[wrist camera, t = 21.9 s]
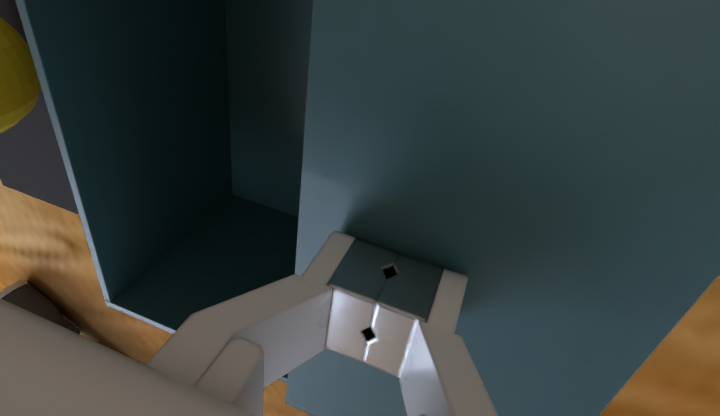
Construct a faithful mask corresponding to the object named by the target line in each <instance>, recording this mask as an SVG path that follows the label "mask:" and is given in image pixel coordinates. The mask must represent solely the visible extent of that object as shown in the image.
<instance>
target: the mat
mask: <svg viewBox="0 0 720 416" xmlns="http://www.w3.org/2000/svg"><path fill="white" fill-rule="evenodd" d="M0 17H1V18H3V19H4V20H5V21H6V22H7V23H9V24H10V25H11V26H12V27H13V28H14V29H15V30H16V31H17V32H18V33H19V34H20V35H21V37H22V38H23V39H24V41H25V42H26V43H27V44H28V41H27V38H26V35H25V31H24V28H23V25H22V21H21V18H20V14H19V11H18V8H17V4H16V1H15V0H0ZM0 179H1V181H2V183H3V185H4V186H7V187H9V188H12V189H15V190H17V191H20V192H22V193H25V194H27V195H30V196H33V197H35V198H38V199H40V200H43V201H46V202H48V203H51V204H53V205H56V206H58V207H61V208H64V209H66V210H69V211H71V212H74V213H76V214H79V212H78V209H77V206H76V202H75V199H74V196H73V192H72V189H71V186H70V182H69V179H68V176H67V172H66V169H65V165H64V162H63V159H62V155H61V152H60V149H59V145H58V142H57V139H56V135H55V132H54V129H53V125H52V122H51V118H50V115H49V112H48V108H47V105H46V102H45V98H44V95H43V92H42V88H40V92H39V96H38V99H37V102H36V105H35V106H34V107H33V109H32V110H31V111H30V112H29V113H28V114H27V115H26V116H24V117H23V118H22V119H21V120H20V121H19V122H18V123H16V124H15V125H14V126H13V127H11V128H9V129H7V130H6V131H4V132H2V133H0Z"/></svg>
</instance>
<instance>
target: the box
mask: <svg viewBox="0 0 720 416" xmlns="http://www.w3.org/2000/svg"><path fill="white" fill-rule="evenodd" d="M15 1H16V4H17V8H18V11H19V14H20V18H21V21H22V25H23V28H24V31H25V35H26V38H27V41H28V45H29V48H30V51H31V55H32V58H33V61H34V65H35V68H36V72H37V75H38V78H39V82H40V85H41V88H42V92H43V95H44V98H45V102H46V105H47V108H48V112H49V115H50V118H51V122H52V125H53V129H54V132H55V135H56V139H57V142H58V145H59V149H60V152H61V155H62V159H63V162H64V165H65V169H66V172H67V176H68V179H69V182H70V186H71V189H72V192H73V196H74V199H75V202H76V206H77V209H78V212H79V216H80V219H81V223H82V226H83V229H84V233H85V236H86V239H87V243H88V246H89V249H90V253H91V256H92V259H93V263H94V266H95V269H96V273H97V276H98V280H99V283H100V286H101V290H102V293H103V296H104V299H105V303H106V305H108V306H110V307H112V308H114V309H117V310H119V311H121V312H124V313H126V314H128V315H131V316H133V317H135V318H138V319H140V320H142V321H145V322H147V323H149V324H151V325H154V326H156V327H158V328H161V329H163V330H165V331H168V332H170V333H172V334H174V333H175V332H176V330H177V329H178V328H179V327H180V326H181V325H182V324H183V323H184V322H185V321H186V319H187V318H188V317H189V316H190V315H191V314H193V313H196V312H198V311H201V310H203V309H206V308H208V307H211V306H214V305H216V304H219V303H221V302H224V301H226V300H229V299H232V298H234V297H237V296H239V295H242V294H244V293H247V292H250V291H252V290H255V289H257V288H260V287H262V286H265V285H268V284H270V283H273V282H275V281H278V280H281V279H283V278H286V277H288V276H291V275H293V274H295V261H296V246H297V232H298V217H299V202H300V188H301V173H302V158H303V144H304V129H305V115H306V100H307V85H308V71H309V56H310V41H311V27H312V12H313V0H15ZM287 378H288V373H287V374H286V375H284V376H282V377H281V378H279V380H281V381H283V382H286V383H287Z"/></svg>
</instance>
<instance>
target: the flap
mask: <svg viewBox="0 0 720 416" xmlns="http://www.w3.org/2000/svg"><path fill="white" fill-rule="evenodd" d="M334 231H339V232H342V233H344V234H347V235H350V236H352V237H355V238H359V239H362V240H364V241H367V242H370V243H372V244H375V245H378V246H380V247H383V248H386V249H388V250H391V251H394V252H396V253H399V254H402V255H405V256H408V257H411V258H414V259H417V260H420V261H423V262H426V263H428V264H431V265H434V266H437V267H440V268H443V270H444V268H445V269H448V270H451V271H454V272H457V273H460V274H463V275H466V276H467V278H468V281H467V285H466V289H465V293H464V297H463V301H462V306H461V310H460V314H459V318H458V322H457V326H456V330H455V334H456V335H459V336H461V337H462V338H463V340H464V342H465V345H466V347H467V349H468V351H469V353H470V356H471V358H472V360H473V362H474V364H475V366H476V369H477V371H478V373H479V375H480V377H481V379H482V382H483V384H484V386H485V388H486V390H487V392H488V395H489V397H490V399H491V401H492V403H493V406H494V408H495V410H496V412H497V414H498V416H599V415H600V413H601V412H602V411H603V410H604V409H605V408H606V406H607V405H608V404H609V403H610V402H611V401H612V399H613V398H614V397H615V396H616V395H617V394H618V392H619V391H620V390H621V389H622V388H623V387H624V385H625V384H626V383H627V382H628V381H629V380H630V378H631V377H632V376H633V375H634V374H635V373H636V371H637V370H638V369H639V368H640V367H641V366H642V364H643V363H644V362H645V361H646V360H647V359H648V357H649V356H650V355H651V354H652V353H653V352H654V350H655V349H656V348H657V347H658V346H659V345H660V343H661V342H662V341H663V340H664V339H665V338H666V336H667V335H668V334H669V333H670V332H671V331H672V329H673V328H674V327H675V326H676V325H677V324H678V322H679V321H680V320H681V319H682V318H683V317H684V315H685V314H686V313H687V312H688V311H689V310H690V308H691V307H692V306H693V305H694V304H695V303H696V301H697V300H698V299H699V298H700V297H701V296H702V294H703V293H704V292H705V291H706V290H707V289H708V287H709V286H710V285H711V284H712V283H713V282H714V280H715V279H716V278H717V277H718V276H719V275H720V0H313V12H312V27H311V41H310V56H309V71H308V85H307V100H306V115H305V129H304V144H303V158H302V173H301V188H300V202H299V217H298V232H297V246H296V261H295V274H297V275H300V276H302V274H303V273H304V271H305V270H306V269H307V267H308V266H309V264H310V263H311V262H312V260H313V259H314V257H315V256H316V254H317V253H318V252H319V250H320V249H321V247H322V246H323V244H324V243H325V242H326V240H327V239H328V237H329V236H330V234H331V233H333V232H334ZM399 379H400V378H398V377H396V376H393V375H391V374H389V373H386V372H384V371H382V370H380V369H377V368H375V367H373V366H370V365H368V364H366V363H364V362H361V361H359V360H356V359H353V358H351V357H348V356H345V355H343V354H340V353H337V352H335V351H332V350H329V349H327V348H324V350H323V351H322V352H320V353H318V354H317V355H315V356H314V357H312V358H311V359H309V360H307V361H306V362H304V363H303V364H301V365H300V366H298V367H296V368H295V369H293V370H292V371H290V372H289V373H288V378H287V392H286V404H288V405H290V406H292V407H295V408H297V409H299V410H301V411H304V412H306V413H308V414H310V415H313V416H407V412H406V408H405V403H404V399H403V395H402V390H401V386H400V382H399Z"/></svg>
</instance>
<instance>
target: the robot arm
mask: <svg viewBox="0 0 720 416" xmlns="http://www.w3.org/2000/svg"><path fill="white" fill-rule="evenodd" d="M467 281H468V278H467V276H466V275H463V274H460V273H457V272H454V271H451V270H448V269H445V268H444V270H443V268H440V267H437V266H434V265H431V264H428V263H426V262H423V261H420V260H417V259H414V258H411V257H408V256H405V255H402V254H399V253H396V252H394V251H391V250H388V249H386V248H383V247H380V246H378V245H375V244H372V243H370V242H367V241H364V240H362V239H359V238H355V237H352V236H350V235H347V234H344V233H342V232H339V231H334V232H333V233H331V234H330V236H329V237H328V239H327V240H326V242H325V243H324V244H323V246H322V247H321V249H320V250H319V252H318V253H317V254H316V256H315V257H314V259H313V260H312V262H311V263H310V264H309V266H308V267H307V269H306V270H305V271H304V273H303V274H302V276H300V275H297V274H293V275H291V276H288V277H286V278H283V279H281V280H278V281H275V282H273V283H270V284H268V285H265V286H262V287H260V288H257V289H255V290H252V291H250V292H247V293H244V294H242V295H239V296H237V297H234V298H232V299H229V300H226V301H224V302H221V303H219V304H216V305H214V306H211V307H208V308H206V309H203V310H201V311H198V312H196V313H193V314H191V315H190V316H189V317H188V318H187V319H186V321H185V322H184V323H183V324H182V325H181V326H180V327H179V328H178V329H177V330H176V332H175V333H174V334H173V335H172V336H171V337H170V338H169V339H168V340H167V341H166V343H165V344H164V345H163V346H162V347H161V348H160V349H159V350H158V351H157V352H156V354H155V355H154V356H153V357H152V358H151V359H150V360H149V361H148V362H147V363H146V365H145V364H143V363H141V362H139V361H136V360H134V359H132V358H130V357H128V356H125V355H123V354H121V353H119V352H117V351H114V350H112V349H110V348H108V347H106V346H103V345H101V344H99V343H97V342H95V341H93V340H90V339H88V338H86V337H84V336H82V335H79V334H77V333H75V332H73V331H71V330H68V329H66V328H64V327H62V326H60V325H57V324H55V323H53V322H51V321H49V320H46V319H44V318H42V317H40V316H38V315H35V314H33V313H31V312H29V311H27V310H25V309H22V308H20V307H18V306H16V305H14V304H11V303H9V302H7V301H5V300H3V299H0V416H263V389H264V388H265V387H267V386H268V385H270V384H271V383H273V382H275V381H276V380H278V379H279V378H281V377H282V376H284V375H286V374H287V373H289V372H290V371H292V370H293V369H295V368H296V367H298V366H300V365H301V364H303V363H304V362H306V361H307V360H309V359H311V358H312V357H314V356H315V355H317V354H318V353H320V352H322V351H323V350H324V348H327V349H329V350H332V351H335V352H337V353H340V354H343V355H345V356H348V357H351V358H353V359H356V360H359V361H361V362H364V363H366V364H368V365H370V366H373V367H375V368H377V369H380V370H382V371H384V372H386V373H389V374H391V375H393V376H396V377H398V378H400V379H399V382H400V386H401V390H402V395H403V399H404V403H405V408H406V412H407V416H498V414H497V412H496V410H495V408H494V406H493V403H492V401H491V399H490V397H489V395H488V392H487V390H486V388H485V386H484V384H483V382H482V379H481V377H480V375H479V373H478V371H477V369H476V366H475V364H474V362H473V360H472V358H471V356H470V353H469V351H468V349H467V347H466V345H465V342H464V340H463V338H462V337H461V336H459V335H456V334H455V330H456V326H457V322H458V318H459V314H460V310H461V306H462V301H463V297H464V293H465V289H466V285H467Z"/></svg>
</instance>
